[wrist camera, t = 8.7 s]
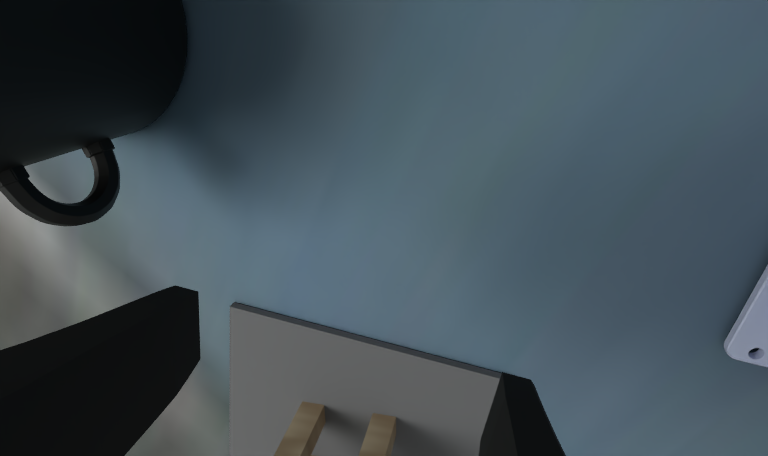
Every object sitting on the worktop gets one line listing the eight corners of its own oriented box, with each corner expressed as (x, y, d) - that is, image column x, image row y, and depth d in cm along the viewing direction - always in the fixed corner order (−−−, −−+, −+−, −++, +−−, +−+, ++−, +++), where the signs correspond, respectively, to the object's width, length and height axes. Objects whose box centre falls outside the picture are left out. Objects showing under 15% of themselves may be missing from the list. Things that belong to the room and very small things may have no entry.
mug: (98, 206, 24) (-113, 306, 16) (-52, -55, 20) (-431, -103, 12) (256, 153, 20) (95, 242, 12) (114, -170, 17) (-249, -341, 9)
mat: (515, 376, 22) (515, 382, 22) (453, 559, 28) (452, 566, 28) (234, 302, 24) (229, 306, 24) (232, 487, 30) (229, 492, 30)
